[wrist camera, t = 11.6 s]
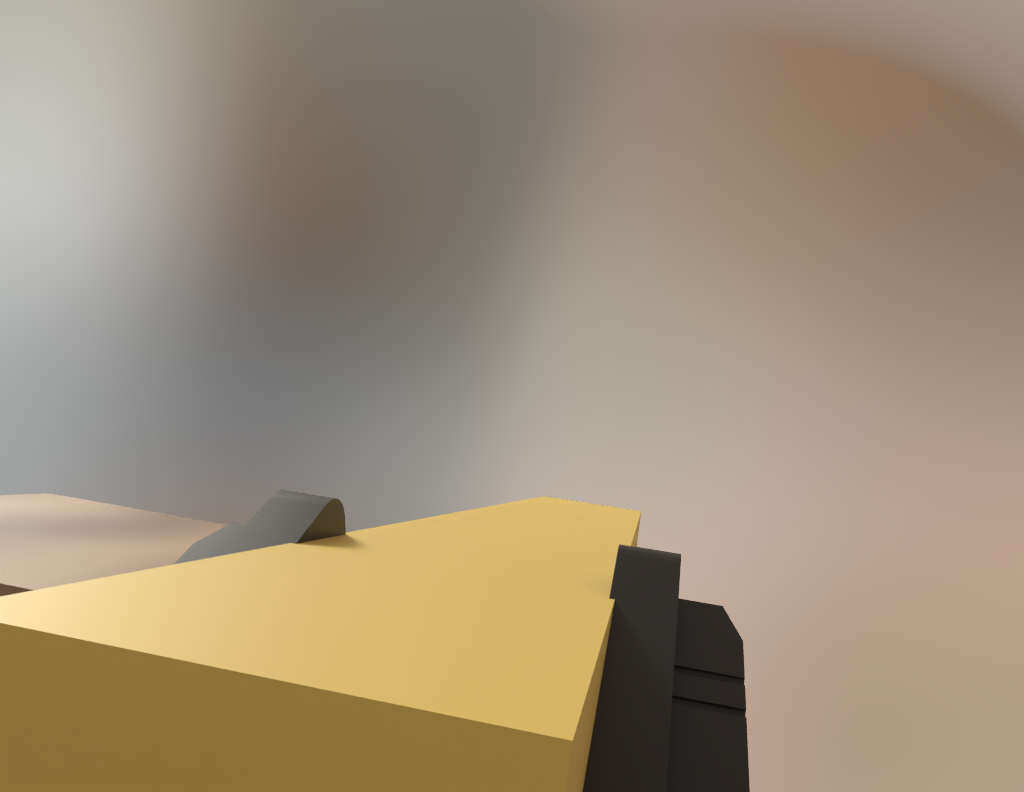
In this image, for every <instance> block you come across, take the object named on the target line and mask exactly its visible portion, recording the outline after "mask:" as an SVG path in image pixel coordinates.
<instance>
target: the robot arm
mask: <svg viewBox="0 0 1024 792" xmlns="http://www.w3.org/2000/svg"><path fill="white" fill-rule="evenodd" d="M345 534H346V532H345V515H344V509H343V506H342V503H341V502H340V500H338V499H334V498H329V497H322V496H316V495H309V494H304V493H297V492H292V491H285V490H279V491H277V492H276V493H274V494H273V495H272V496H271V497H270V498H269V500H268V501H267V502H266V503H265V504H264V505H263V506H262V507H261V509H260V510H259V511H258V512H257V513H256V514H255V515H254V516H253V517H252V518H251V519H250V521H249V522H248V523H247V524H246V525H244V524H238V523H230V524H228V525H226V526H224V527H223V528H221V529H219V530H217V531H215V532H213V533H212V534H210V535H208V536H206V537H204V538H203V539H201V540H199V541H197V542H195V543H193V544H192V545H191V546H190V548H189V549H188V550H187V551H186V552H185V553H184V554H183V555H182V556H181V557H180V558H179V559H178V560H177V561H176V562H175V563H174V564H179V563H185V562H190V561H195V560H201V559H206V558H212V557H217V556H222V555H228V554H233V553H239V552H244V551H250V550H255V549H260V548H266V547H271V546H277V545H282V544H288V543H294V544H297V543H303V542H308V541H313V540H319V539H324V538H329V537H334V536H340V535H345ZM680 563H681V554H676V553H670V552H664V551H658V550H652V549H645V548H640V547H633V546H627V545H621V544H619V547H618V552H617V558H616V563H615V569H614V574H613V580H612V585H611V591H610V597H609V599H615V602H614V608H613V613H612V619H611V625H610V631H609V637H608V643H607V649H606V655H605V661H604V667H603V673H602V679H601V685H600V691H599V697H598V703H597V708H596V714H595V720H594V726H593V732H592V738H591V744H590V750H589V756H588V762H587V768H586V774H585V780H584V786H583V792H750V791H749V768H748V747H747V724H746V718H745V712H746V701H745V685H744V654H743V640H742V639H741V637H740V635H739V633H738V632H737V630H736V628H735V627H734V625H733V623H732V622H731V620H730V618H729V616H728V615H727V613H726V611H725V610H724V608H723V606H718V605H713V604H707V603H701V602H695V601H689V600H683V599H678V595H679V580H680ZM174 564H173V565H174Z"/></svg>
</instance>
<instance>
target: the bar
mask: <svg viewBox="0 0 1024 792" xmlns="http://www.w3.org/2000/svg"><path fill="white" fill-rule="evenodd" d="M640 516H641V511H635V510H629V509H622V508H616V507H609V506H604V505H597V504H590V503H584V502H578V501H571V500H564V499H558V498H552V497H545V496H543V497H537V498H531V499H526V500H521V501H515V502H510V503H505V504H499V505H494V506H489V507H483V508H478V509H472V510H466V511H461V512H456V513H450V514H445V515H440V516H434V517H428V518H423V519H418V520H412V521H407V522H401V523H396V524H391V525H385V526H380V527H374V528H369V529H364V530H358V531H353V532H347V533H346V534H345V535H340V536H334V537H329V538H324V539H319V540H313V541H308V542H303V543H297V544H294V543H288V544H282V545H277V546H271V547H266V548H260V549H255V550H250V551H244V552H239V553H233V554H228V555H222V556H217V557H212V558H206V559H201V560H195V561H190V562H185V563H179V564H174V565H168V566H163V567H157V568H152V569H147V570H141V571H136V572H130V573H125V574H120V575H114V576H109V577H103V578H98V579H92V580H87V581H82V582H76V583H71V584H65V585H60V586H54V587H49V588H44V589H38V590H33V591H27V592H22V593H17V594H11V595H6V596H0V792H583V786H584V780H585V774H586V768H587V762H588V756H589V750H590V744H591V738H592V732H593V726H594V720H595V714H596V708H597V703H598V697H599V691H600V685H601V679H602V673H603V667H604V661H605V655H606V649H607V643H608V637H609V631H610V625H611V619H612V613H613V608H614V602H615V599H609V597H610V591H611V585H612V580H613V574H614V569H615V563H616V558H617V552H618V547H619V544H621V545H627V546H633V547H636V546H637V538H638V531H639V524H640Z"/></svg>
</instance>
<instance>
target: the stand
mask: <svg viewBox="0 0 1024 792" xmlns="http://www.w3.org/2000/svg"><path fill="white" fill-rule="evenodd" d="M224 526H226V525H224V524H218V523H213V522H207V521H201V520H196V519H190V518H185V517H179V516H173V515H168V514H162V513H157V512H151V511H145V510H140V509H134V508H128V507H123V506H117V505H112V504H106V503H100V502H95V501H89V500H84V499H78V498H72V497H67V496H61V495H55V494H50V493H43V494H21V495H0V596H6V595H11V594H17V593H22V592H27V591H33V590H38V589H44V588H49V587H54V586H60V585H65V584H71V583H76V582H82V581H87V580H92V579H98V578H103V577H109V576H114V575H120V574H125V573H130V572H136V571H141V570H147V569H152V568H157V567H163V566H168V565H173V564H174V563H175V562H176V561H177V560H178V559H179V558H180V557H181V556H182V555H183V554H184V553H185V552H186V551H187V550H188V549H189V548H190V546H191V545H192V544H193V543H195V542H197V541H199V540H201V539H203V538H204V537H206V536H208V535H210V534H212V533H213V532H215V531H217V530H219V529H221V528H223V527H224Z"/></svg>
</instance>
